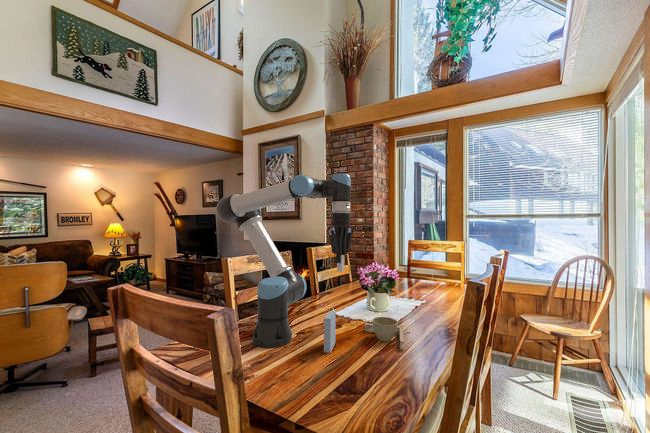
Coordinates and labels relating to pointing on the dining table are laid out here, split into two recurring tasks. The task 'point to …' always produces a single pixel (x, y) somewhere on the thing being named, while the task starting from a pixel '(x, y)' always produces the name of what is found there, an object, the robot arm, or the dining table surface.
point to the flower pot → (384, 327)
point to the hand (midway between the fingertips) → (340, 270)
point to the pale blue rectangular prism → (329, 331)
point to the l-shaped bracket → (398, 331)
